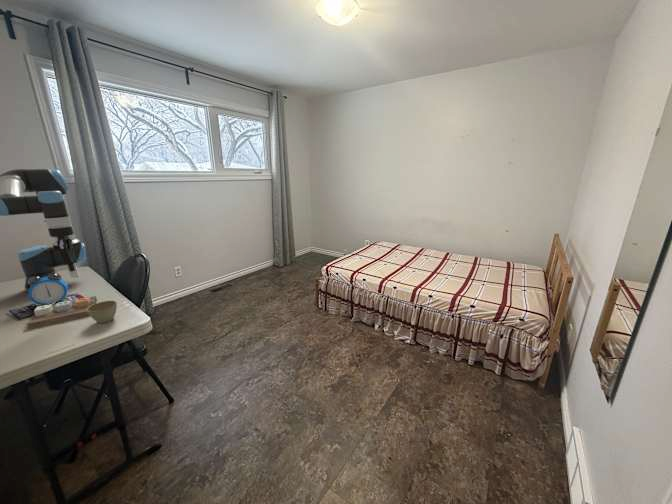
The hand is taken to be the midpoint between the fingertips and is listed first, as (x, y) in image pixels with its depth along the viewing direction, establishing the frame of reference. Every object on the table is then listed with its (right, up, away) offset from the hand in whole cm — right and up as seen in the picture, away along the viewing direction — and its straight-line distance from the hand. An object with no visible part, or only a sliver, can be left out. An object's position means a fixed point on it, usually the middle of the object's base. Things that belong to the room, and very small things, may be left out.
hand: (75, 277), depth 124 cm
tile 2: (+1, -14, +4) cm, 14 cm away
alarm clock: (-21, -14, +11) cm, 28 cm away
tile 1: (-10, -16, -4) cm, 19 cm away
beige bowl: (+19, -19, -6) cm, 28 cm away
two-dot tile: (-5, -15, 0) cm, 16 cm away
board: (-5, -17, +1) cm, 18 cm away
